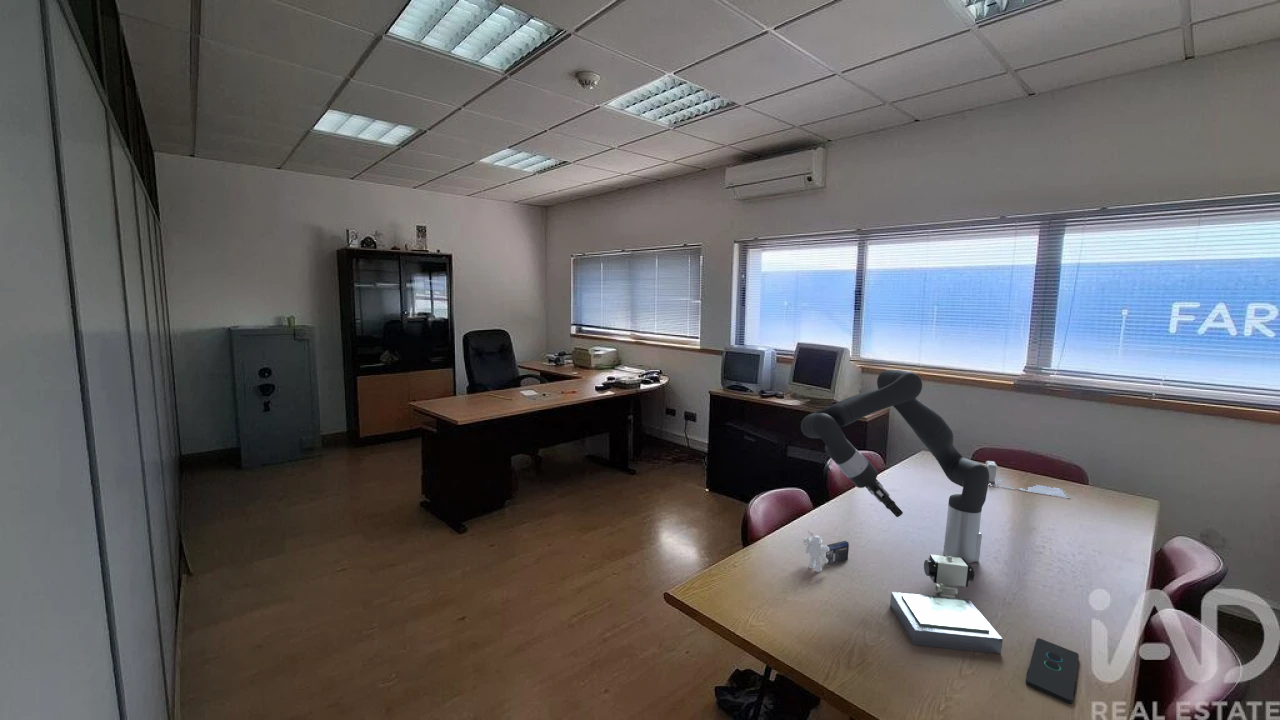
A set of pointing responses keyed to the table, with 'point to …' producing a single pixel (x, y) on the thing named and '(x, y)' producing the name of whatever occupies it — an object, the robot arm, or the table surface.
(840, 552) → the mini dv tape
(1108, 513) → the table surface
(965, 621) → the grey picture frame
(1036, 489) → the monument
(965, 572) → the pneumatic valve
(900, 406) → the robot arm
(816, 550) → the hat wearing toy figure
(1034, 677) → the smart home device
